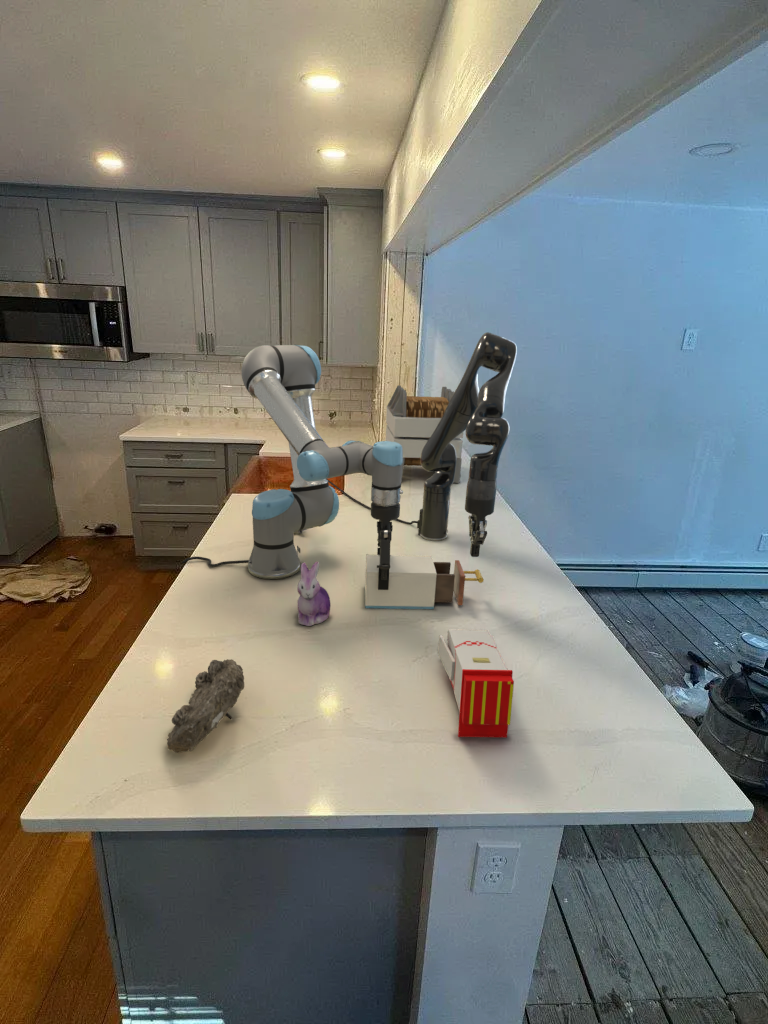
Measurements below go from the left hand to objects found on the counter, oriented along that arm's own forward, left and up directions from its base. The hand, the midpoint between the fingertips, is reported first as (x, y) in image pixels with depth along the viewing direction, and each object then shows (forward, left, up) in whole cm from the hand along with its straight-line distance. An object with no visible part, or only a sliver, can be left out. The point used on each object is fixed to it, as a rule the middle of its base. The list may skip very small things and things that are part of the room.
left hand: (382, 579), depth 153 cm
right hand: (+22, +11, +8) cm, 26 cm away
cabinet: (+4, +2, -6) cm, 7 cm away
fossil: (-10, -58, -6) cm, 59 cm away
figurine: (-11, -18, -6) cm, 22 cm away
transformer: (-34, +124, -6) cm, 129 cm away
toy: (+33, -28, -6) cm, 44 cm away
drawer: (+14, +7, -5) cm, 16 cm away
